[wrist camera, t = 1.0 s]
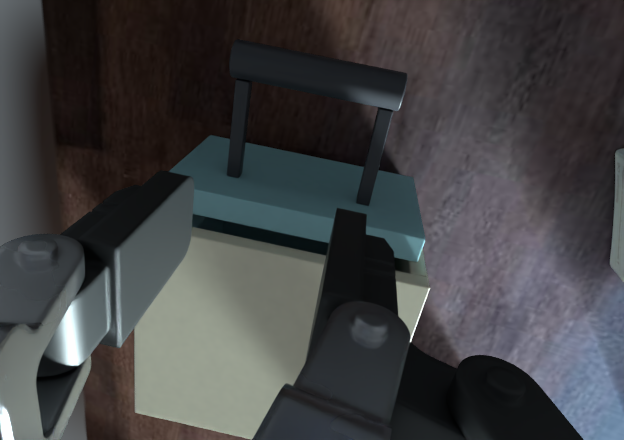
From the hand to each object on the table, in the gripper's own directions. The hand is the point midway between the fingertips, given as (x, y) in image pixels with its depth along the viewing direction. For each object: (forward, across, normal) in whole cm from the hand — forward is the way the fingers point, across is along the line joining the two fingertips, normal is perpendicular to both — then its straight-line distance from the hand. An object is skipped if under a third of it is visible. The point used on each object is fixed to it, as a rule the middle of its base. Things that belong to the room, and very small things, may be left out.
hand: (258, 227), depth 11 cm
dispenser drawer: (+14, 0, +5) cm, 15 cm away
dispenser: (+15, 0, +10) cm, 18 cm away
